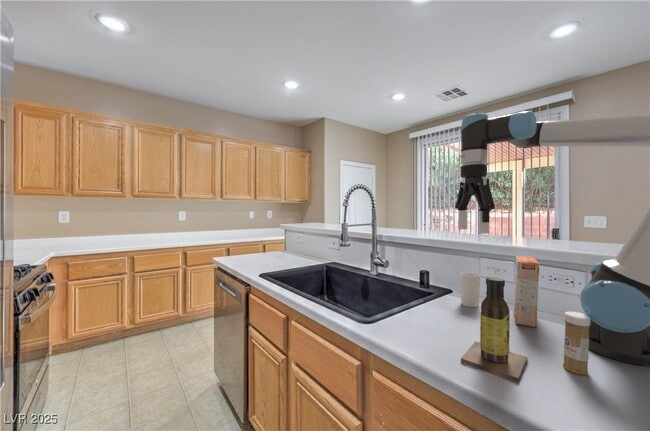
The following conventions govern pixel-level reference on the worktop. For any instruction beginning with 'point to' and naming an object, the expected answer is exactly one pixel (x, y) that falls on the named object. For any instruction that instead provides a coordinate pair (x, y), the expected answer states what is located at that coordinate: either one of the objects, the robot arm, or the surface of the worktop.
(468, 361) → the coaster board
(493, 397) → the worktop surface
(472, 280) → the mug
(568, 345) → the sprinkles bottle
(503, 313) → the sauce bottle
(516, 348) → the worktop surface
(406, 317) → the worktop surface
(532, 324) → the cracker box
